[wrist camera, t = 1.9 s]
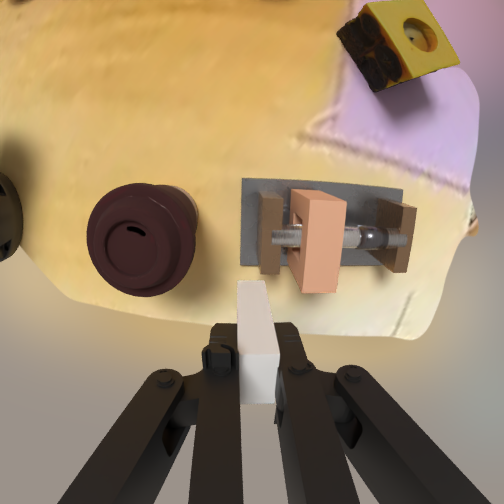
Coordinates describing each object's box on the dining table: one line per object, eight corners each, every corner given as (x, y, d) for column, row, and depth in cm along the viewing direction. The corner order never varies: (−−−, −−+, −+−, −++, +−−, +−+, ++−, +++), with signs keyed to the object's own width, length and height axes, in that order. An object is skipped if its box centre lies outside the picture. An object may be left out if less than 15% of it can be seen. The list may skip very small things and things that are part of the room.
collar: (286, 261, 36) (301, 293, 27) (291, 188, 33) (310, 199, 25) (313, 261, 36) (335, 292, 28) (319, 190, 33) (346, 201, 25)
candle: (334, 32, 28) (362, 1, 19) (386, 19, 27) (420, -6, 18) (372, 95, 31) (411, 80, 22) (420, 76, 30) (462, 63, 21)
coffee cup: (165, 265, 37) (129, 325, 23) (120, 207, 34) (58, 238, 20) (224, 221, 36) (216, 264, 22) (177, 158, 33) (137, 159, 19)
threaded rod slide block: (240, 262, 38) (241, 288, 30) (241, 177, 34) (243, 182, 27) (390, 263, 39) (417, 284, 32) (400, 188, 36) (432, 197, 28)
